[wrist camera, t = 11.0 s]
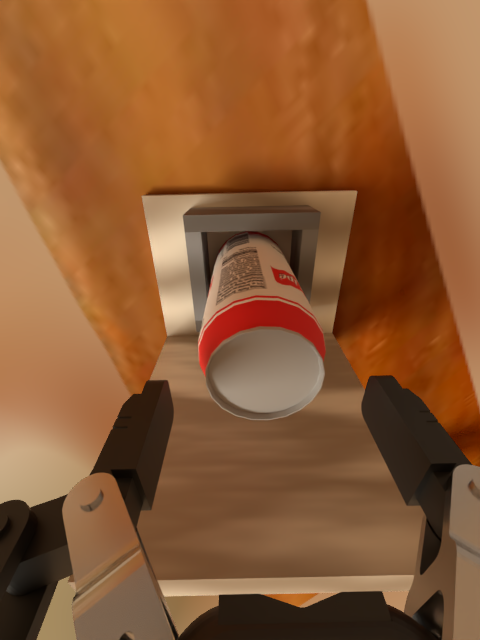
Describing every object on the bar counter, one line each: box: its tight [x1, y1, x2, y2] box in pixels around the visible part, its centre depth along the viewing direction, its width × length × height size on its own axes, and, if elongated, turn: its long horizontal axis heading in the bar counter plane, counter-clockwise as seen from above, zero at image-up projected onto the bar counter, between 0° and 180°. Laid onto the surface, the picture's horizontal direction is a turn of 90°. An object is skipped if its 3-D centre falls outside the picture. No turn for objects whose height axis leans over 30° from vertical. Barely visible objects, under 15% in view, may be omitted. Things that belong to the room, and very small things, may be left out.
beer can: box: [198, 231, 326, 420], centre depth 18 cm, size 6×6×16 cm
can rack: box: [68, 190, 425, 596], centre depth 18 cm, size 16×18×21 cm
